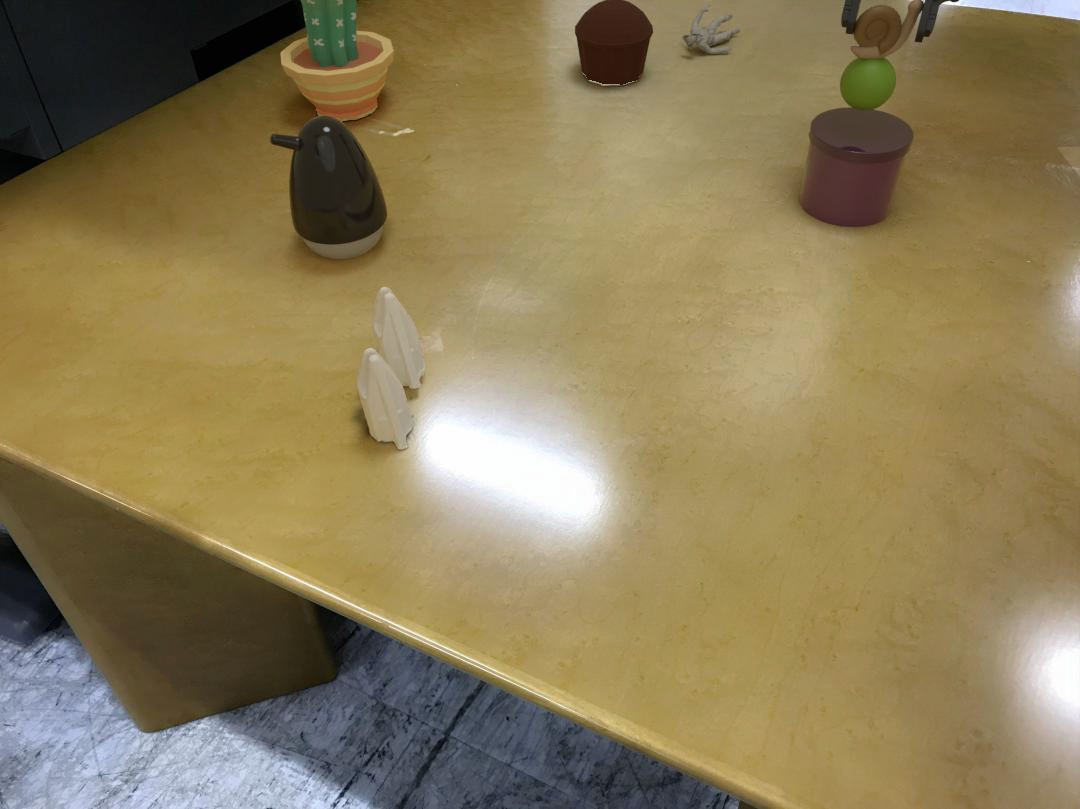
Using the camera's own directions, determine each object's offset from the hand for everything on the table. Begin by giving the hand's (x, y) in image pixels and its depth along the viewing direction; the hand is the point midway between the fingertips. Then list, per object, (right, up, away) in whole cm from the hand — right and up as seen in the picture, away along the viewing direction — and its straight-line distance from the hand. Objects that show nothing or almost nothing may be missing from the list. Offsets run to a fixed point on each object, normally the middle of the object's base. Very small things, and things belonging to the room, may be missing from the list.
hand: (884, 34), depth 87 cm
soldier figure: (-7, +20, +52) cm, 56 cm away
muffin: (-23, +13, +46) cm, 53 cm away
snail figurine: (+1, -5, +7) cm, 9 cm away
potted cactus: (-61, +6, +40) cm, 73 cm away
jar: (+1, -14, +16) cm, 21 cm away
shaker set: (-46, -36, -5) cm, 59 cm away
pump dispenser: (-55, -18, +14) cm, 60 cm away
